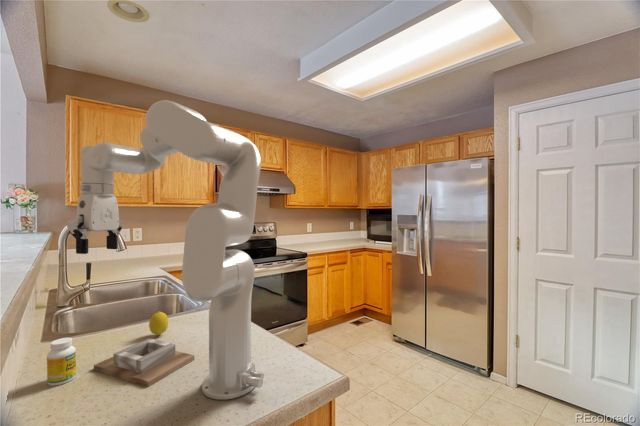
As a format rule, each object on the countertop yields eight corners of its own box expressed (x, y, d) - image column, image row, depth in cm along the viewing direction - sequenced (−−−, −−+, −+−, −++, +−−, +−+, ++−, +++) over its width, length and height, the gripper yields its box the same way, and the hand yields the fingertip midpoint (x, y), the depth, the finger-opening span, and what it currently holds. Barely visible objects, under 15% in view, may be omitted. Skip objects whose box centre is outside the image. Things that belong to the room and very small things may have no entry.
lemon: (160, 339, 97) (160, 314, 97) (145, 338, 99) (145, 313, 99) (172, 333, 103) (171, 309, 103) (157, 331, 104) (157, 308, 104)
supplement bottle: (55, 375, 77) (55, 337, 76) (80, 373, 78) (80, 335, 78) (41, 387, 71) (41, 346, 71) (68, 384, 72) (67, 344, 72)
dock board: (194, 359, 85) (194, 344, 85) (148, 386, 72) (148, 368, 72) (143, 347, 92) (143, 333, 92) (93, 369, 79) (93, 353, 79)
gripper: (81, 188, 78) (81, 256, 78) (132, 192, 95) (132, 247, 95) (55, 188, 79) (56, 255, 79) (111, 192, 96) (111, 247, 96)
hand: (97, 251), depth 87 cm, fingers open, 9 cm apart
